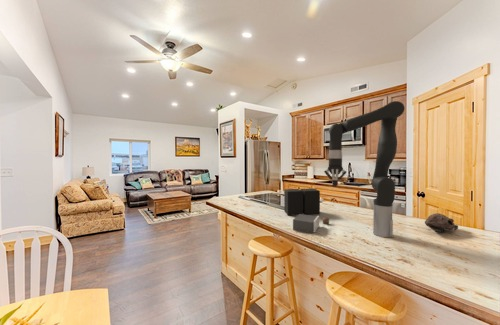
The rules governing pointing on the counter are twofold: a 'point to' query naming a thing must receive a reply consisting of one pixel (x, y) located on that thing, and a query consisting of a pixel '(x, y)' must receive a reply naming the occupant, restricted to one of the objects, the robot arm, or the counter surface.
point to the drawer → (316, 223)
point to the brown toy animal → (440, 222)
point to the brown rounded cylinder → (325, 220)
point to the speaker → (302, 201)
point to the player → (304, 223)
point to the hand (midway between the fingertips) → (335, 186)
